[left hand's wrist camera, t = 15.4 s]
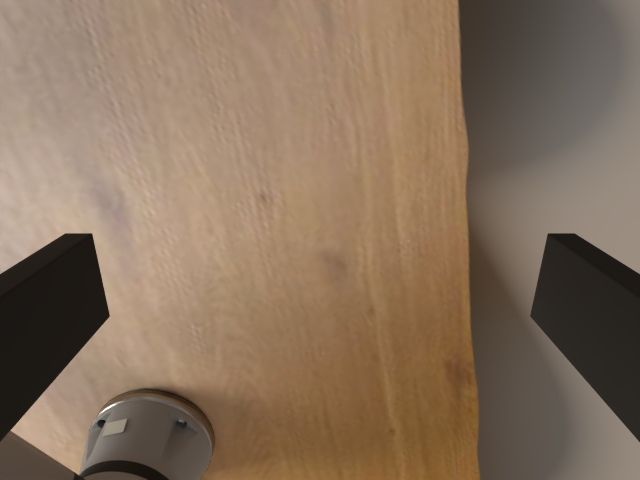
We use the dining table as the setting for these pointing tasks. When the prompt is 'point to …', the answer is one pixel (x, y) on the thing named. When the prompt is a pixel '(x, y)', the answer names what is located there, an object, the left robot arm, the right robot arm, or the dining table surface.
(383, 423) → the dining table surface
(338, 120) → the dining table surface
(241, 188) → the dining table surface
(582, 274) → the left robot arm
